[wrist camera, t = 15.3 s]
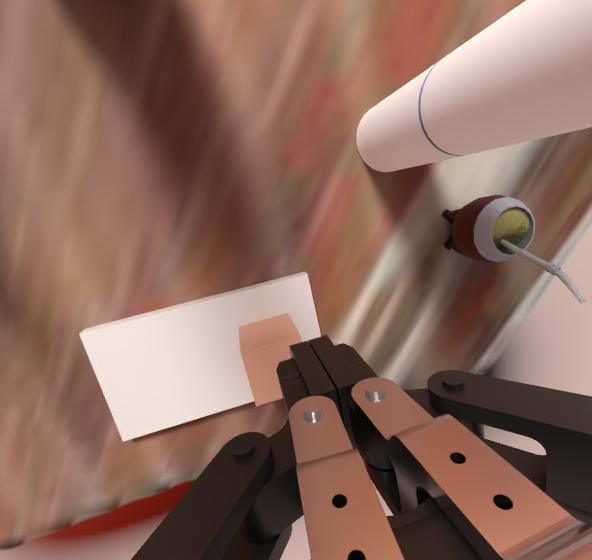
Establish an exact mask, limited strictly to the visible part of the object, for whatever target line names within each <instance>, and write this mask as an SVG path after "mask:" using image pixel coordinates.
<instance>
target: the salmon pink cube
mask: <svg viewBox="0 0 592 560" xmlns="http://www.w3.org/2000/svg"><path fill="white" fill-rule="evenodd" d="M238 328H239V340H240V353H241V356H242V360H243V363H244V367H245V370H246V374H247V377H248V380H249V384H250V387H251V391H252V394H253V398H254V401H255V405H256V406H259V405H262V404H265V403H269V402H272V401H275V400H278V399H281V398H283V396H282V392H281V388H280V384H279V380H278V376H277V372H276V369H277V367H278V364H279V362H281V361H284V360H288V359H291V354H290V350H289V346H290V345H293V344H297V343H300V342H302V340H301V336H300V334H299V332H298V330H297V328H296V327H295V325H294V323H293V321H292V319H291V318H290V316H289V314H288V313H285V314H281V315H278V316H274V317H271V318H267V319H264V320H260V321H256V322H253V323H249V324H246V325H242V326H239V327H238Z"/></svg>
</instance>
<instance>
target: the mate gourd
mask: <svg viewBox="0 0 592 560" xmlns="http://www.w3.org/2000/svg"><path fill="white" fill-rule="evenodd" d="M442 215H443V217H445V218H446V219H447V220H448V221H449V222H450V223H451V224H453V225H452V234H451V236H450V237H449V238H448V240H447V241H446V243H445V244H444V247H445V248H446V249H448V250H450V249H451V248H452V249H454V250H455V251H456V252H458V253H460V254H463V255H466V256H468V257H470V258H473V259H476V260H480V261H485V262H491V263H492V262H502V261H506V260H510V259H512V258H514V257H516V256H517V255H521V256H523V257H524V258H526V259H528V260H530V261H532V262H534V263H536V264H538V265H540V266H541V267H543V268H544V270H546V271H547V272H549V273H550V274H552V275H556V276H557V277H558V278H559V279H560V280H562V282H563V283H564V284H565V285H566V286H567V287H568V288H569V289H570V291H571V292H572V293H573V294H574V296H575V297H576V298H577V299H578V300H579V302H580V303H584V302H586V300H585V298H584V297H583V296H582V294H581V293H580V291H579V290H578V289H577V287H576V286H575V285H574V283H573V282H572V280H571V279H570V278H569V277H568V276H567V275H566V274H565V273H564V272H563V271H561V268H560V267H558V266H556V265H555V264H553V263H548V262H546V261H544V260H542V259H540V258H538V257H536V256H534V255H532V254H530V253H528V252H526V251H524V250H525V249H526V248H527V247H528V245H529V244H530V243H531V241H532V238H533V235H534V232H535V220H534V218H533V215H532V212H531V211H530V210H529V209H528V208H527V207H526V206H525V205H524V204H523V203H522V202H521V201H520V200H517V199H514V198H510V197H505V196H502V195H494V196H488V197H483V198H478V199H476V200H474V201H472V202H471V203H469V204H467V205H466V206H464V207H463V208H461V209H458V210H454V211H451V212H450V211H449V210H448V209H447V210H444V212H443V213H442Z"/></svg>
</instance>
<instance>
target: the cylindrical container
mask: <svg viewBox="0 0 592 560" xmlns="http://www.w3.org/2000/svg"><path fill="white" fill-rule="evenodd" d="M589 127H592V0H526V1H525V2H523V3H522V4H520V5H519V6H518V7H516V8H515V9H513V10H512V11H510V12H509V13H507V14H506V15H505V16H503V17H502V18H500V19H499V20H497V21H496V22H495V23H493V24H492V25H490V26H489V27H487V28H486V29H485V30H483V31H482V32H480V33H479V34H477V35H476V36H474V37H473V38H472V39H470V40H469V41H467V42H466V43H464V44H463V45H462V46H460V47H459V48H457V49H456V50H454V51H453V52H452V53H450V54H449V55H447V56H446V57H444V58H443V59H441V60H440V61H439V62H437V63H436V64H434V65H433V66H431V67H430V68H429V69H427V70H426V71H424V72H423V73H421V74H420V75H419V76H417V77H416V78H414V79H413V80H411V81H410V82H409V83H407V84H406V85H404V86H403V87H401V88H400V89H399V90H397V91H396V92H394V93H393V94H391V95H390V96H389V97H387V98H386V99H384V100H383V101H381V102H380V103H379V104H377V105H376V106H374V107H373V108H372V109H370V110H369V111H368V112H367V113H366V114H365V115H364V116H363V118H362V119H361V121H360V124H359V126H358V130H357V139H356V141H357V148H358V151H359V154H360V156H361V157H362V159H363V161H364V162H365V163H366V164H367V165H368V166H369V167H371V168H372V169H374V170H376V171H380V172H392V171H397V170H401V169H406V168H410V167H415V166H420V165H424V164H429V163H433V162H437V161H442V160H446V159H450V158H455V157H459V156H464V155H468V154H472V153H477V152H482V151H486V150H491V149H495V148H500V147H504V146H509V145H513V144H518V143H523V142H527V141H532V140H536V139H541V138H545V137H550V136H554V135H558V134H563V133H567V132H572V131H576V130H581V129H585V128H589Z"/></svg>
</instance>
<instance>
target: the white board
mask: <svg viewBox="0 0 592 560" xmlns="http://www.w3.org/2000/svg"><path fill="white" fill-rule="evenodd" d="M285 313H288V314H289V316H290V318H291V319H292V321H293V323H294V325H295V327H296V328H297V330H298V332H299V334H300V336H301V340H302V342H304V341H308V340H311V339H314V338H318V337H321V334H320V329H319V325H318V320H317V315H316V311H315V306H314V302H313V297H312V292H311V288H310V283H309V279H308V274H307V273H306V272H301V273H297V274H293V275H289V276H286V277H282V278H278V279H274V280H270V281H266V282H263V283H259V284H255V285H251V286H247V287H244V288H240V289H236V290H232V291H228V292H224V293H221V294H217V295H213V296H209V297H205V298H201V299H198V300H194V301H190V302H186V303H182V304H178V305H175V306H171V307H167V308H163V309H159V310H155V311H152V312H148V313H144V314H140V315H136V316H133V317H129V318H125V319H121V320H117V321H113V322H110V323H106V324H102V325H98V326H94V327H90V328H87V329H85V330H83V331H82V332H81V333H80V334H79V335H80V337H81V340H82V342H83V344H84V347H85V349H86V352H87V354H88V357H89V359H90V362H91V364H92V366H93V369H94V371H95V374H96V376H97V379H98V381H99V384H100V386H101V389H102V391H103V393H104V396H105V398H106V401H107V403H108V406H109V408H110V411H111V413H112V415H113V418H114V420H115V423H116V425H117V428H118V430H119V433H120V435H121V438H122V440H123V442H124V441H127V440H130V439H133V438H136V437H140V436H143V435H146V434H149V433H153V432H156V431H159V430H162V429H166V428H169V427H172V426H175V425H179V424H182V423H185V422H188V421H191V420H195V419H198V418H201V417H204V416H208V415H211V414H214V413H217V412H221V411H224V410H227V409H230V408H234V407H237V406H240V405H243V404H247V403H250V402H253V401H254V398H253V394H252V391H251V387H250V384H249V380H248V377H247V374H246V370H245V367H244V363H243V360H242V356H241V353H240V340H239V328H238V327H239V326H242V325H246V324H249V323H253V322H256V321H260V320H264V319H267V318H271V317H274V316H278V315H281V314H285Z"/></svg>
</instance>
